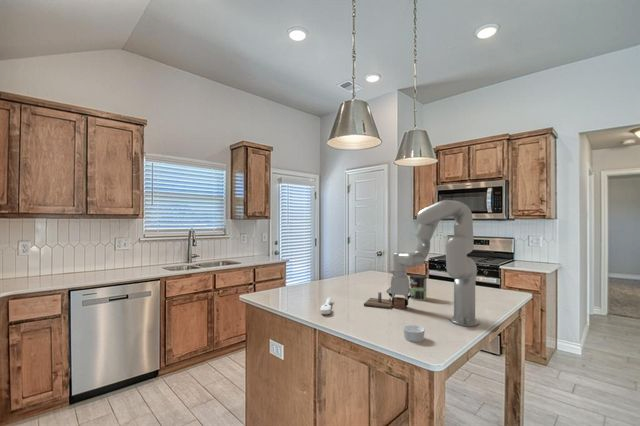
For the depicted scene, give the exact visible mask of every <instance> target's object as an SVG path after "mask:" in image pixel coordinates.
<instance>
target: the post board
mask: <svg viewBox="0 0 640 426" xmlns="http://www.w3.org/2000/svg"><path fill="white" fill-rule="evenodd" d="M363 306H364V307H370V308H377V309H386V310H391V308H392V307H394V306H393V304H392V298H391V297H389V298H388V299H384V298H382V292H379V291H378V292H377V297H370V298H369V299H368V300H366V301H365V302H364V303H363Z"/></svg>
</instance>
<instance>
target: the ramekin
mask: <svg viewBox="0 0 640 426" xmlns="http://www.w3.org/2000/svg"><path fill="white" fill-rule="evenodd" d="M402 330H403V337H404V339H405V340H406V341H408V342H413V343H419V342H422V341H424V338H425V330H426V329H425V328H424V327H423V326H421V325H416V324H408V325H404V326H403V327H402Z"/></svg>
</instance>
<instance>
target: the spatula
mask: <svg viewBox="0 0 640 426" xmlns="http://www.w3.org/2000/svg"><path fill="white" fill-rule="evenodd" d="M332 299H333V298H332V297H326V301H325V303H324V304H322V305H321V307H320V308H319V312H320V314H321V315H329V314H331V313H332V305H330V303H331V300H332Z"/></svg>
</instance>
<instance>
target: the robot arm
mask: <svg viewBox="0 0 640 426" xmlns="http://www.w3.org/2000/svg"><path fill="white" fill-rule="evenodd" d="M446 218H447V219H448V218H454V224H453V236H451V237H450V238H448V239H447V241H446V244H445V265H446V266H445V267H446V272H447V274H448V276H449V277H450V278H452V279H454V281H453V316H451V317H450V322H451V323H452V324H455V325H458V326H462V327H477V326H478V325H480V321H479V320H478V319H476V281H477V275H478V274H477V272H478V269H477V268H478V267H477V264H476V262H475V260H474V259H472V258H471V257H468V254H470V253H471V252H473V251H474V243H475V242H474V228H473V227H474V224H473V222H474V221H473V220H474V218H473V213H472V211H471V209H470V207H469V206H468V205H467V204H465V203H464V202H461V201H459V200H449V199H443V200H440V201H437V202H435V203H433V204H431V205H429V206H426V207H424V208H422V209H421V210H420V211H418V213H417V215H416V221H417V222H418V227H417V229H416V231H415V233H414V235H415V237H416V238H417V246H416V248H415V251H414V252H408V253H407V252H405V251H394V252H393V256H392V261H393V262H392V263H393V264H392V267H393V268H392V271H390V274H392V275H391V277H390V287H389V288H387V290H386V294H388V295H389V298H391V300H392V304H393V306H392V307H394V298H395V297H396V295H399V296H404V298H406V299H405V307H406V308H407V307H408V306H409V299H410V297H411V296H413V295H414V292H413V291H412V290H411V289H410V278H409V276H408V268H414V267H417V266H421V265H423V263H424V262H425V261H426V259H427V257H428V254H429V253H430V250H431V239H432V238H433V235H434V233H435V231H436V229H437V227H438V225H439V223H440V220H443V219H446ZM410 293H411V294H410Z"/></svg>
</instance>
